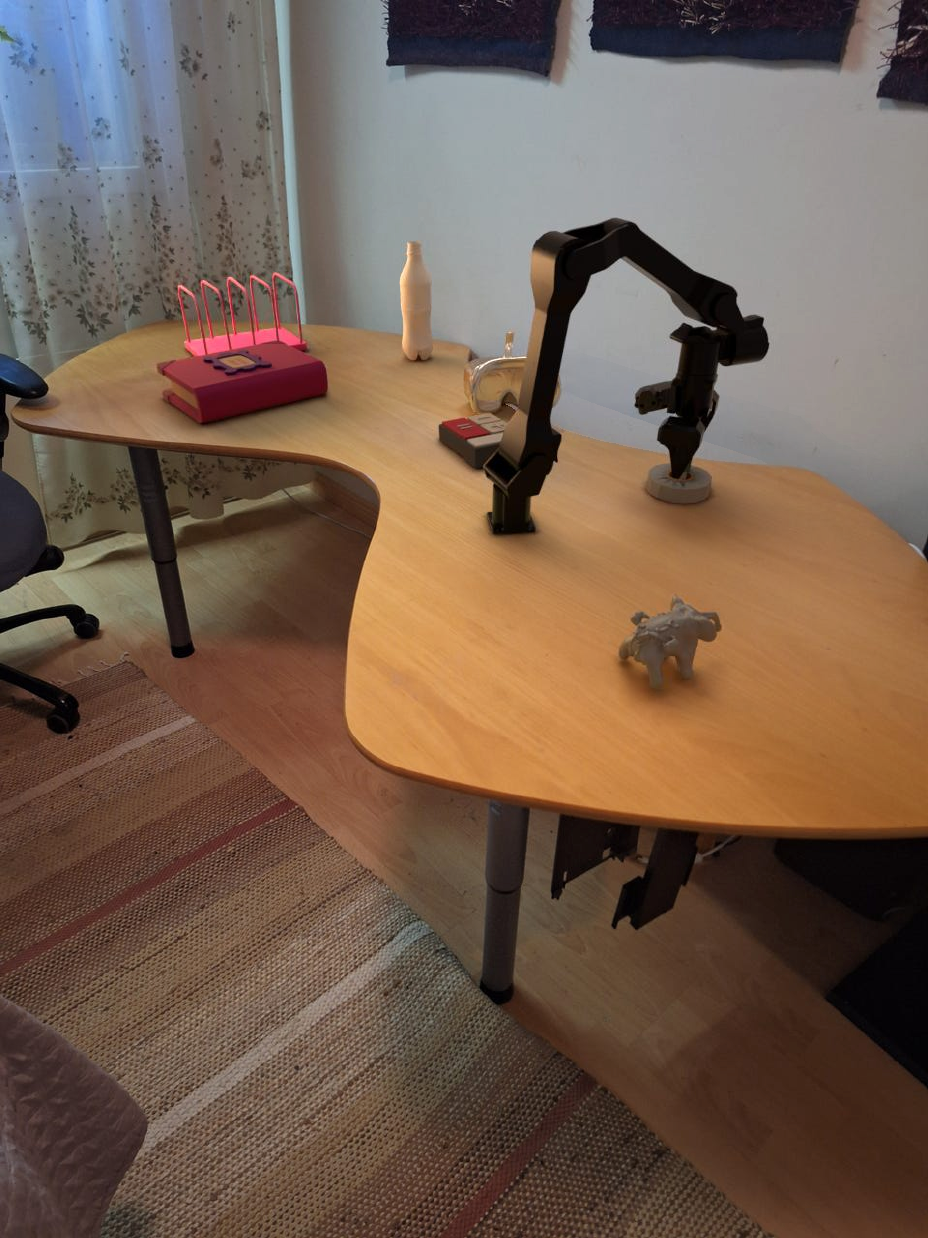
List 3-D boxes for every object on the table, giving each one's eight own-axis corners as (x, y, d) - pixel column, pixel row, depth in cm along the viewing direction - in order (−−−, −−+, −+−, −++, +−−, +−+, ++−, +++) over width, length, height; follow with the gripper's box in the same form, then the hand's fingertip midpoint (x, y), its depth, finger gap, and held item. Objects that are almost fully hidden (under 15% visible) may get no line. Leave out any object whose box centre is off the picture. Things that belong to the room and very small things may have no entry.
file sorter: (307, 350, 194) (300, 281, 185) (205, 367, 183) (191, 295, 174) (282, 333, 206) (274, 268, 197) (185, 348, 196) (171, 280, 187)
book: (329, 395, 167) (326, 359, 163) (202, 426, 153) (195, 387, 149) (282, 371, 181) (277, 336, 177) (161, 397, 167) (153, 360, 162)
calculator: (490, 410, 150) (531, 433, 138) (490, 432, 152) (531, 457, 141) (437, 420, 146) (475, 444, 134) (438, 442, 148) (475, 469, 136)
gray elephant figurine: (603, 667, 92) (610, 612, 87) (664, 625, 99) (674, 572, 94) (671, 705, 86) (682, 649, 82) (731, 659, 93) (744, 604, 89)
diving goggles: (470, 422, 155) (470, 346, 147) (459, 402, 164) (458, 330, 156) (560, 415, 158) (564, 340, 149) (544, 395, 167) (547, 324, 159)
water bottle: (398, 355, 190) (393, 240, 176) (426, 351, 193) (423, 238, 179) (409, 363, 185) (404, 246, 171) (438, 359, 188) (435, 243, 173)
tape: (718, 501, 127) (721, 486, 125) (657, 505, 126) (660, 490, 124) (695, 475, 135) (698, 460, 133) (638, 478, 134) (640, 464, 132)
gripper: (656, 346, 129) (644, 438, 138) (629, 381, 115) (617, 481, 123) (727, 354, 125) (710, 448, 134) (708, 391, 111) (690, 494, 120)
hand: (681, 467), depth 128 cm, fingers open, 9 cm apart
